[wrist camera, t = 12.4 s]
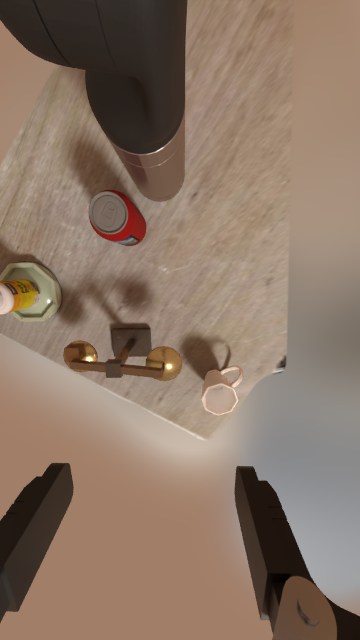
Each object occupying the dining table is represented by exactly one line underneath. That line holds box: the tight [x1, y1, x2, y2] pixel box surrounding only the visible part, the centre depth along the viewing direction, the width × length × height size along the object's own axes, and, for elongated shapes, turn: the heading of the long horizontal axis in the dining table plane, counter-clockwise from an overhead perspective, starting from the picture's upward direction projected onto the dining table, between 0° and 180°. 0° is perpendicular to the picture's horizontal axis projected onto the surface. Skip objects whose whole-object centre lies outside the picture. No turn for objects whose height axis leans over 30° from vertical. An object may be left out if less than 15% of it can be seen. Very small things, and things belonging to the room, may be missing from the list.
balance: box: [63, 328, 182, 381], centre depth 39 cm, size 22×6×15 cm, turn 91°
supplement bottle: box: [0, 279, 41, 314], centre depth 38 cm, size 6×6×10 cm
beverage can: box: [89, 190, 146, 246], centre depth 35 cm, size 7×7×12 cm
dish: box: [0, 262, 62, 322], centre depth 43 cm, size 12×12×2 cm
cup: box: [201, 366, 243, 415], centre depth 44 cm, size 7×10×8 cm
